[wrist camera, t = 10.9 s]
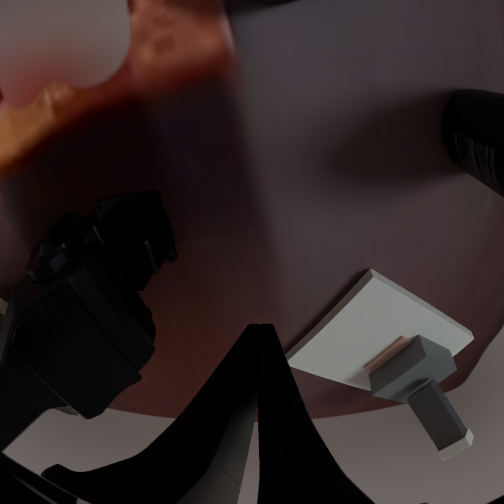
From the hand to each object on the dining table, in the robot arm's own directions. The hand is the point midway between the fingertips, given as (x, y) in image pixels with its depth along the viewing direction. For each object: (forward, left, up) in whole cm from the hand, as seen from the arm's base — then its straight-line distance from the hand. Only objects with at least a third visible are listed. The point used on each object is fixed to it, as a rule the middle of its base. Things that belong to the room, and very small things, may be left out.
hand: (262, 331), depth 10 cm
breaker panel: (+11, -18, -13) cm, 25 cm away
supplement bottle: (+16, +5, -13) cm, 21 cm away
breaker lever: (+15, -21, -8) cm, 27 cm away
